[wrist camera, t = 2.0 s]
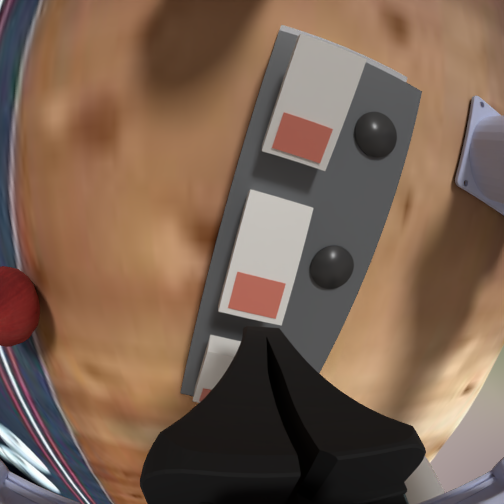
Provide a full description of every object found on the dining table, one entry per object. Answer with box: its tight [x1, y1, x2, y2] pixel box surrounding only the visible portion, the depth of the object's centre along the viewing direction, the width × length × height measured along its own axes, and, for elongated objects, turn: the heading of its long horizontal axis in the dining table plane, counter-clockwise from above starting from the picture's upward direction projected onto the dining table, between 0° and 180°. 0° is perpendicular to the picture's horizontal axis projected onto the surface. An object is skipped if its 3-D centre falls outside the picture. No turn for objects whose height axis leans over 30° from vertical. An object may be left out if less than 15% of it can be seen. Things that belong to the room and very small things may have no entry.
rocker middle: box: [218, 189, 313, 326], centre depth 15 cm, size 3×6×1 cm, turn 164°
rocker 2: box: [262, 34, 367, 171], centre depth 13 cm, size 3×6×1 cm, turn 164°
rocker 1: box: [193, 335, 241, 403], centre depth 17 cm, size 3×6×1 cm, turn 164°
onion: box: [0, 266, 40, 347], centre depth 16 cm, size 6×6×8 cm
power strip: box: [181, 25, 422, 396], centre depth 18 cm, size 9×27×4 cm, turn 164°
